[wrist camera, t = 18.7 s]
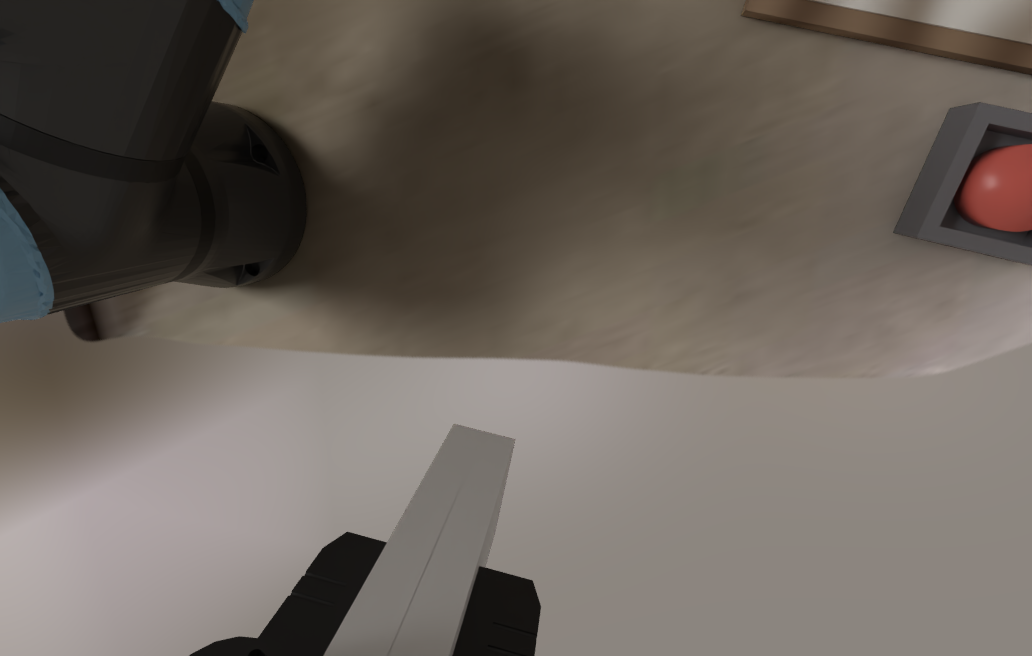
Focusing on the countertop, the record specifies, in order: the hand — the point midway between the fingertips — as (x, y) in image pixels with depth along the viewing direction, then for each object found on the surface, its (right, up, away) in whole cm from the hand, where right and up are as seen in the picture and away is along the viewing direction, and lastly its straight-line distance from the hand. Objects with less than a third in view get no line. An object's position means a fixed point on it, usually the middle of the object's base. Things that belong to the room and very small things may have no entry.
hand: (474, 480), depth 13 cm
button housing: (+33, +13, +23) cm, 42 cm away
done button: (+33, +13, +22) cm, 41 cm away
